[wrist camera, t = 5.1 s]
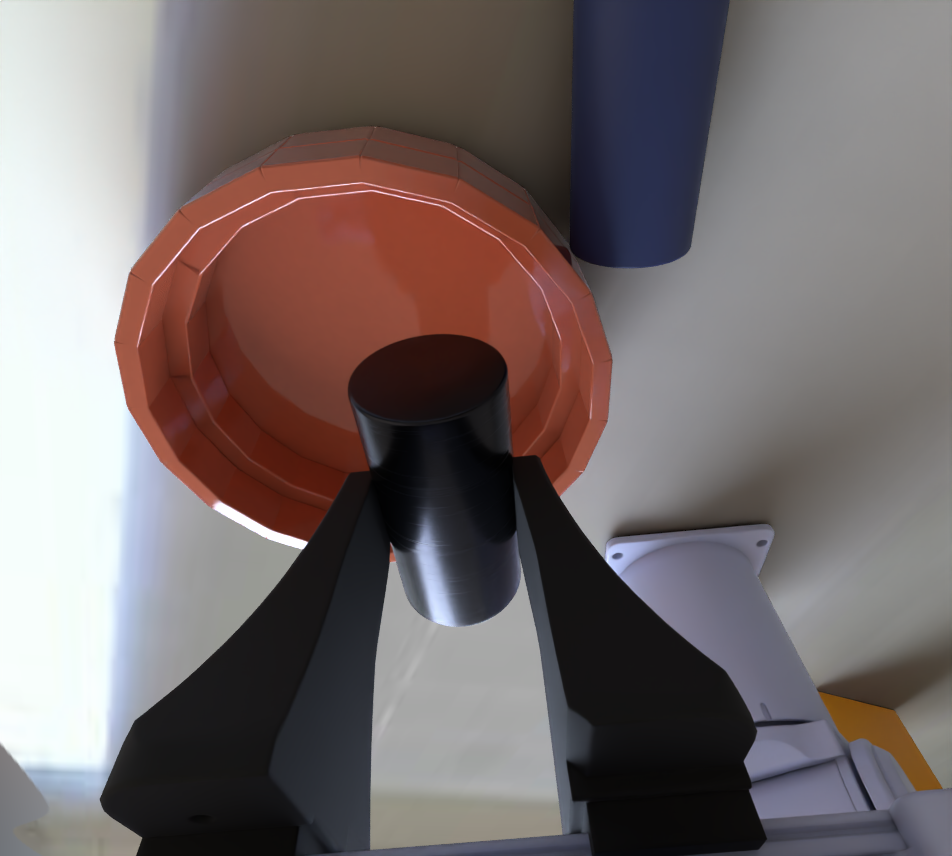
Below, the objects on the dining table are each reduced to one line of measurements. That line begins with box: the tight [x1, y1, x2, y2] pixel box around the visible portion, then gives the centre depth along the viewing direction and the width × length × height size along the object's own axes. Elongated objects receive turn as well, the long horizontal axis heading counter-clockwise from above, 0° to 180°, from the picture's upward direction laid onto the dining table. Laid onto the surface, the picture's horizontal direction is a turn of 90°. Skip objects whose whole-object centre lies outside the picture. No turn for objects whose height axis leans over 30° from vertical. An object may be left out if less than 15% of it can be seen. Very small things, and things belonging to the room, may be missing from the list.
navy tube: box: [569, 0, 730, 268], centre depth 14 cm, size 7×3×3 cm
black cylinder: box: [347, 334, 521, 627], centre depth 14 cm, size 7×3×3 cm, turn 5°
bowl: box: [114, 126, 612, 562], centre depth 18 cm, size 14×14×4 cm
